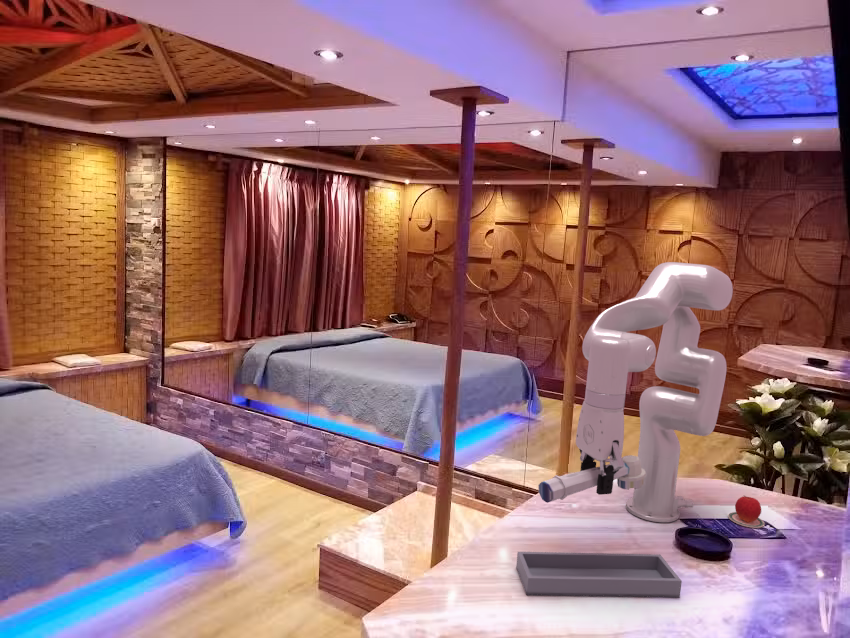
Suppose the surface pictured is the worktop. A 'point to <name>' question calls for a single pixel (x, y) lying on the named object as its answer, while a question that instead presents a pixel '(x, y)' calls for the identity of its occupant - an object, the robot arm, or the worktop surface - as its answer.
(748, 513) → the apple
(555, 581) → the tray
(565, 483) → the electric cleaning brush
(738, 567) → the worktop surface
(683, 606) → the worktop surface
